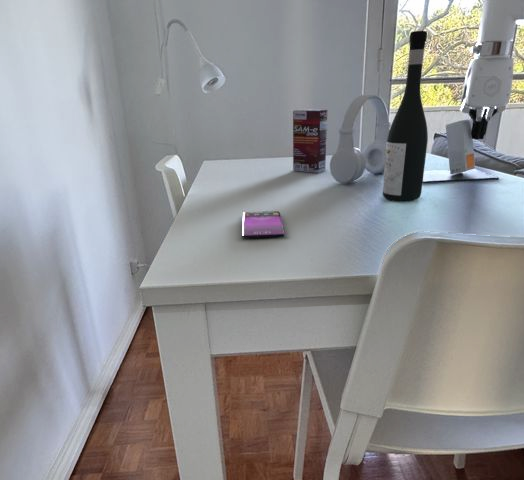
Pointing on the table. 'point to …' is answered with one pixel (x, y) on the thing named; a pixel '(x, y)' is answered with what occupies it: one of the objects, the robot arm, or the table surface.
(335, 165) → the headphones
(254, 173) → the table surface
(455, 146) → the cosmetic box
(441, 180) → the mat
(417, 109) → the wine bottle
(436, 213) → the table surface
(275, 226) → the smartphone
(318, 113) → the supplement box
